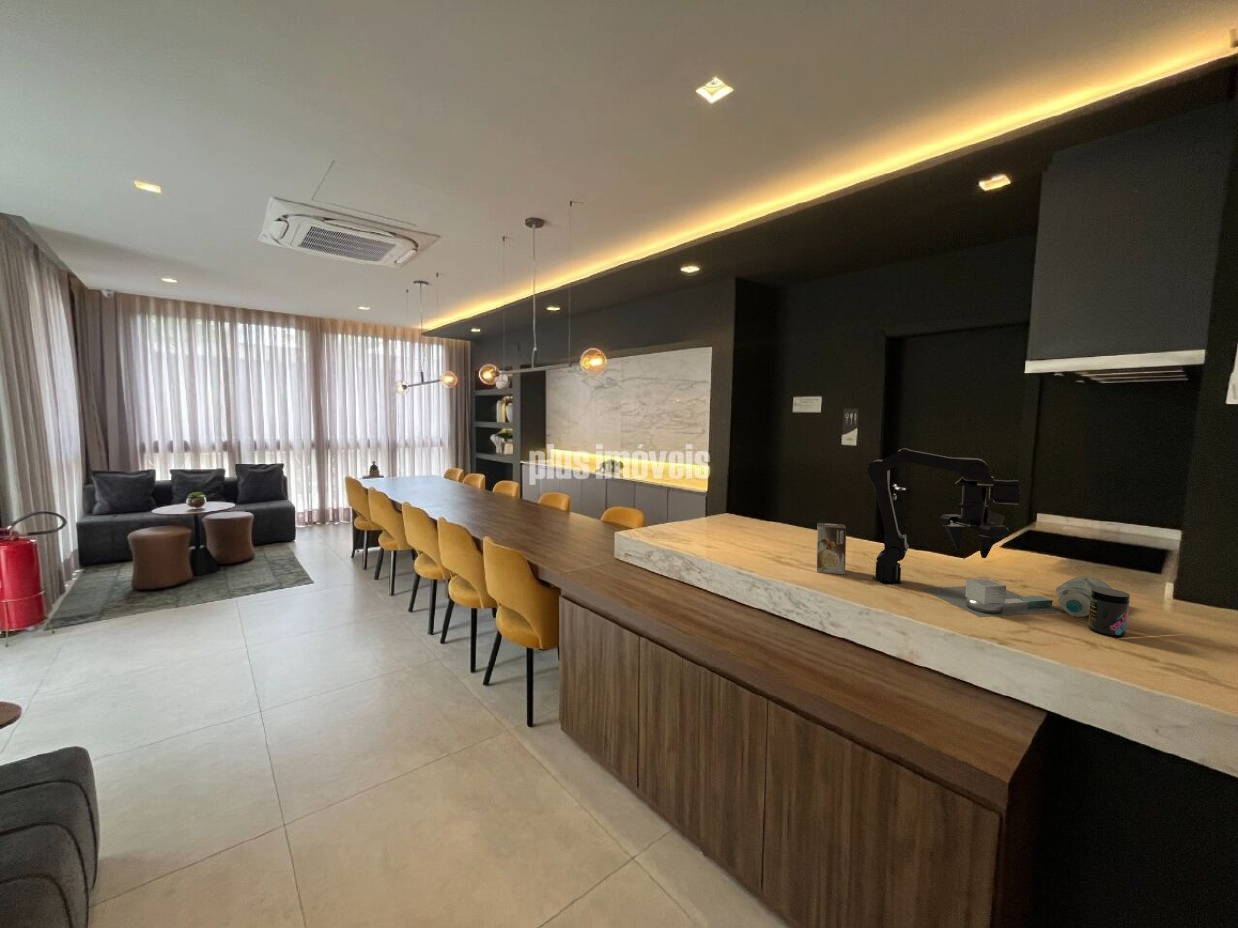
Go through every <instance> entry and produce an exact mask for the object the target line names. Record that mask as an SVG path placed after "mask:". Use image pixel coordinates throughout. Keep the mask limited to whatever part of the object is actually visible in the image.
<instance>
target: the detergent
mask: <svg viewBox="0 0 1238 928" xmlns="http://www.w3.org/2000/svg"><path fill="white" fill-rule="evenodd" d="M1093 587H1104V588H1111V589H1113V588H1112V587H1111V586H1110V585H1109V584H1107V583H1106V582H1104V581H1102V580H1100V579H1098V578H1095V577H1091V576H1077V577H1074V578H1072V579H1068V580H1067V581H1065V582H1063V583H1062V584H1060V585H1059V586H1056V588H1055V593H1056V595H1057V596H1058V599H1057V602H1058V604H1059V606H1060V607H1061V608H1062V609H1063V610H1064V611H1065V612H1066V613H1067V614H1069V615H1070V616H1072V617H1078V618H1083V617H1087V616H1089V609H1090V597H1091V595H1090V594H1091V588H1093Z"/></svg>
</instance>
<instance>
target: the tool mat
mask: <svg viewBox="0 0 1238 928" xmlns="http://www.w3.org/2000/svg"><path fill="white" fill-rule="evenodd" d="M919 590H921V591H923V592H926V593H928V594H929V595H932V596H934V597H935V598H939V599H941V600H943V601H944V602H947V603H948V604H950V605H953V606H956V607H957V608H959V609H962V610H963V611H966V612H968V613H970V614H972V615H973V616H976V617H978V618H989V617H1007V616H1009V617H1010V616H1024V615H1043V614H1060V613H1061V614H1062V613H1064V611H1062V610H1059V609H1056V608H1054V607H1052V608H1035V609H1028V608H1027V609H1009V610H1003V612H1002V613H1001V614H985V613H980V612H977V611H974V610H971V609H969V608H968V607H967V606H966V603H967V597H965V594H966V585H962V586H960V585H958V586H943V587H923V588H922V587H921V588H920V587H919ZM1018 597H1024V596H1023V595H1020V594H1018V593H1015V592H1012V591H1010V590H1008V589H1006V598H1005V599H1017V598H1018Z"/></svg>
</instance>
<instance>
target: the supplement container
mask: <svg viewBox="0 0 1238 928" xmlns="http://www.w3.org/2000/svg"><path fill="white" fill-rule="evenodd" d="M1111 588H1112V587H1111ZM1111 588H1104V587H1093V588H1091V594H1090V595H1091V597H1090V609H1089V615H1088V623H1087V629H1088V630H1089V631H1091V632H1093V633H1095V634H1098V635H1101V636H1105V637H1109V638H1114V639H1124V638H1125V637H1126V636H1127V631H1128V621H1129V620H1128V619H1129V609H1130V600H1131V599H1130V598H1131V594H1129V593H1128V592H1126V591H1123V590H1119V589H1115V588H1112V589H1111Z"/></svg>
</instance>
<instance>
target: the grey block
mask: <svg viewBox="0 0 1238 928" xmlns="http://www.w3.org/2000/svg"><path fill="white" fill-rule="evenodd" d="M965 580H966V581H965V586H966V594H965V597H967V598H970V599H972V600H974V601H977V602H979V603H981V604H983V605H991V604H1005V598H1006V590H1007V585H1006V584H1003V583H1001V582H997V581H995V580H992V579H990V578H986V577H983V578H966V579H965Z"/></svg>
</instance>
